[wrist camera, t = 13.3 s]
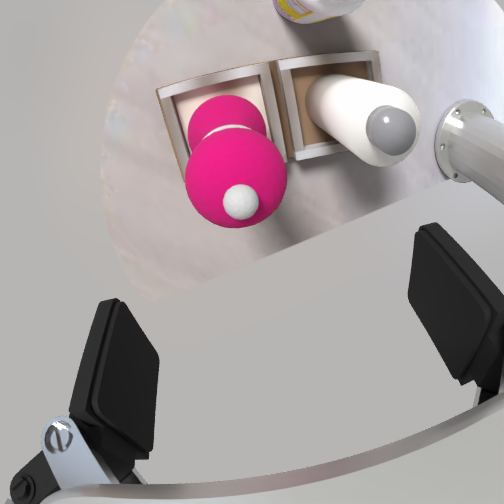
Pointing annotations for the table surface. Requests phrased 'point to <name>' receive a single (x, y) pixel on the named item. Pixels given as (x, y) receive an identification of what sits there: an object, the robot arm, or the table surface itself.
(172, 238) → the table surface
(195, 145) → the pepper mill
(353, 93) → the salt shaker
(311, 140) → the rail
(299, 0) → the supplement bottle
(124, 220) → the table surface
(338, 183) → the table surface
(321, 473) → the robot arm
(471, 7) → the table surface
